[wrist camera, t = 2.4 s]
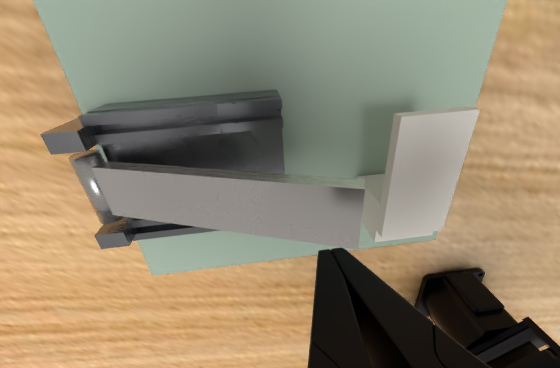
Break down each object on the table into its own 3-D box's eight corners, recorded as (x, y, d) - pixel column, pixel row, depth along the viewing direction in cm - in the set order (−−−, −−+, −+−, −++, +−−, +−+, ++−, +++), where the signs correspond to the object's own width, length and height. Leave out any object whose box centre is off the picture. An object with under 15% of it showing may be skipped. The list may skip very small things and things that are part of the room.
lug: (402, 204, 21) (438, 242, 17) (354, 209, 20) (379, 249, 16) (424, 93, 16) (480, 109, 13) (364, 99, 16) (401, 117, 12)
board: (428, 232, 24) (435, 239, 23) (156, 266, 22) (152, 275, 22) (506, -46, 14) (522, -52, 14) (37, -21, 13) (21, -26, 12)
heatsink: (283, 200, 19) (291, 232, 16) (130, 217, 19) (104, 255, 15) (276, 89, 16) (284, 101, 12) (82, 105, 15) (34, 123, 11)
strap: (357, 241, 12) (357, 263, 11) (114, 208, 16) (94, 222, 15) (365, 164, 10) (366, 181, 9) (86, 149, 14) (61, 159, 13)
